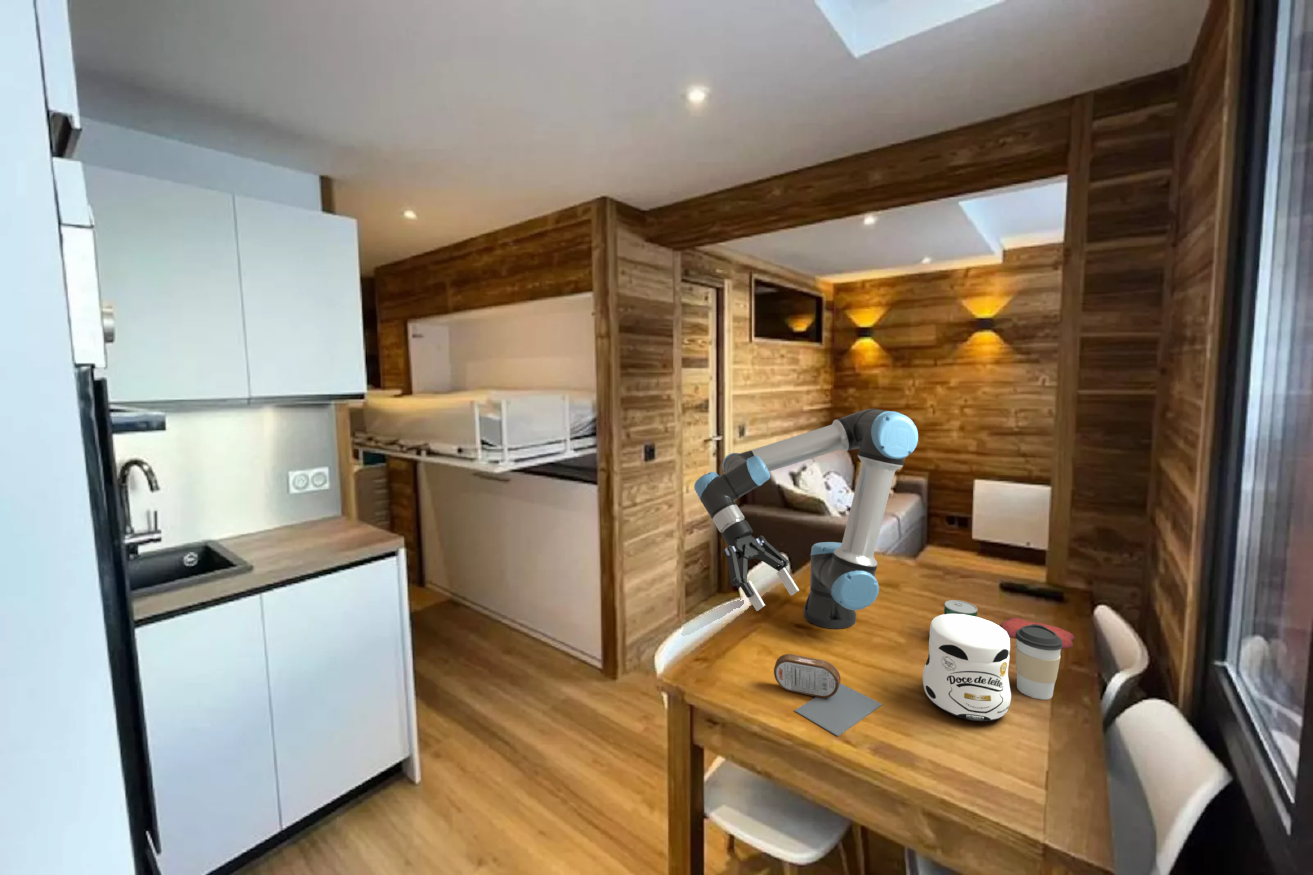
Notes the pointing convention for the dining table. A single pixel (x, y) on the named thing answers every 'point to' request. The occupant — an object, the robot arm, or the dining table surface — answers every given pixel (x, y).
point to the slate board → (838, 710)
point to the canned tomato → (960, 608)
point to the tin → (807, 675)
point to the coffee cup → (1037, 660)
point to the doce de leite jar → (968, 667)
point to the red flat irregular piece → (1018, 623)
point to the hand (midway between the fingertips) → (778, 600)
